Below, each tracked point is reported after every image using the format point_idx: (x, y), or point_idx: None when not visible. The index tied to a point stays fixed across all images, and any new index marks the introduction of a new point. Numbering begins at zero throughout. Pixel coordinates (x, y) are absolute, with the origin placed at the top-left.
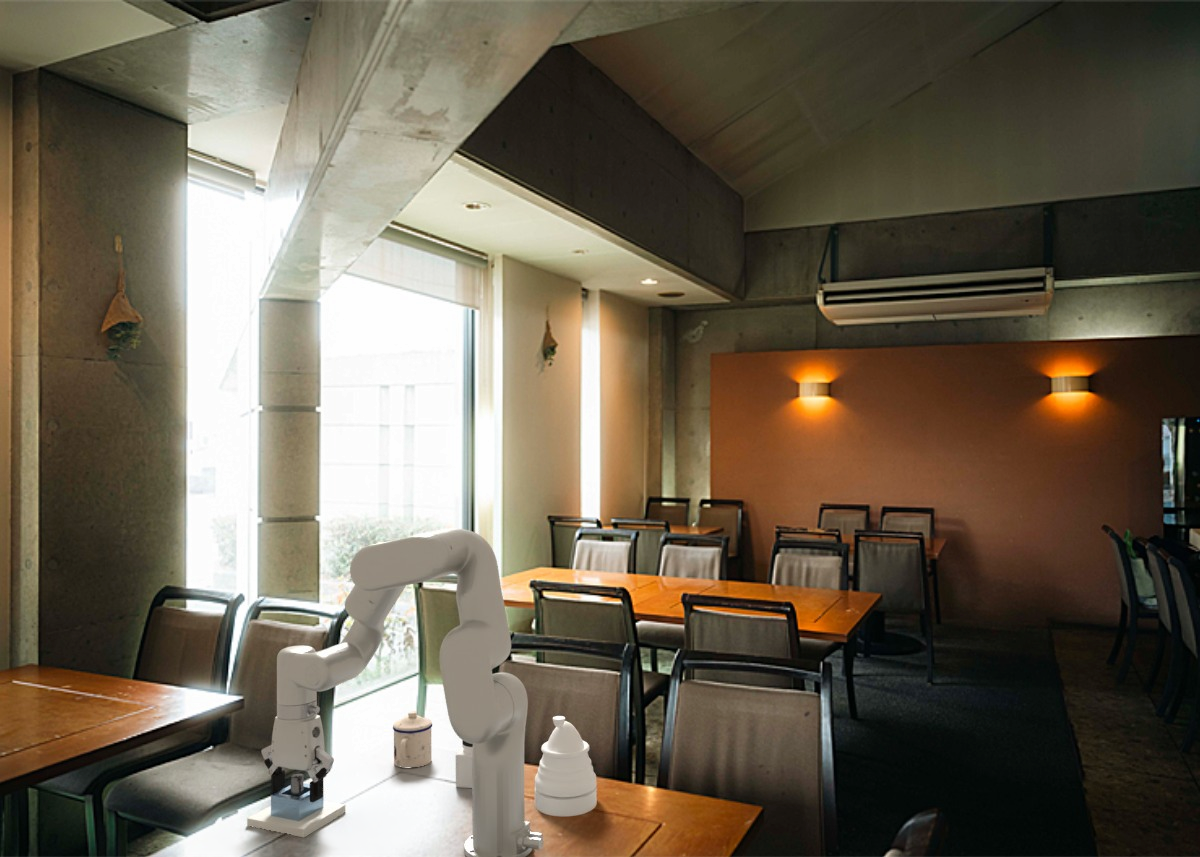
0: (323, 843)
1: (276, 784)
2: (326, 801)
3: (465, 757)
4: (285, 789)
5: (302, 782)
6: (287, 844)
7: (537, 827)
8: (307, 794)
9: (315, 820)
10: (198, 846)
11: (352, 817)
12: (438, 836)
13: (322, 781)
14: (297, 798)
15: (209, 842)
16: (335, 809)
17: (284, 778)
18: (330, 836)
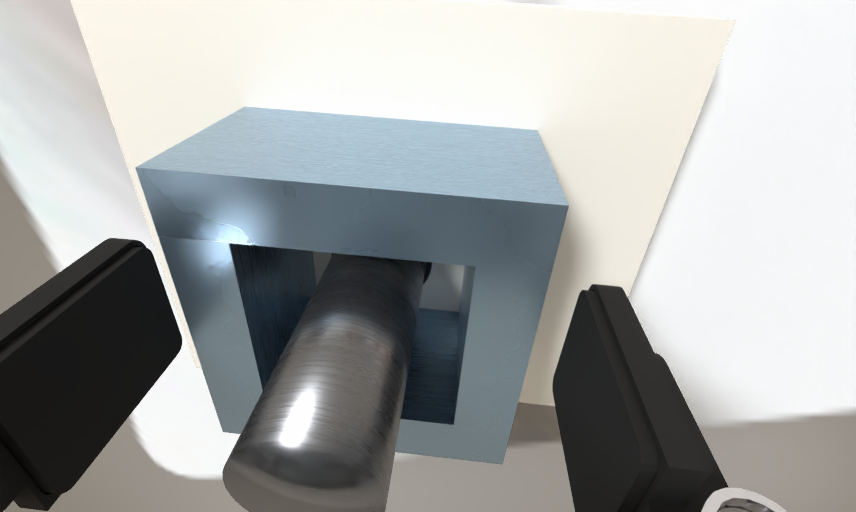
0: (706, 399)
1: (123, 392)
2: (495, 4)
3: None
4: (221, 339)
5: (397, 422)
6: (533, 426)
7: None
8: (501, 382)
9: None
10: (220, 472)
11: (799, 88)
12: None
13: (715, 485)
14: (467, 444)
15: (224, 451)
16: (670, 144)
17: (60, 319)
18: (718, 344)
